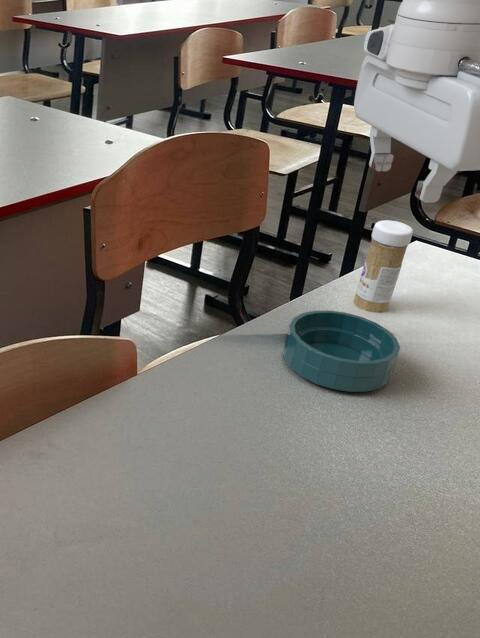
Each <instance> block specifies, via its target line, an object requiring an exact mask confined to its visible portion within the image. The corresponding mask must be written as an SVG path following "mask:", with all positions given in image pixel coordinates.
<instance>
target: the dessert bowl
mask: <svg viewBox="0 0 480 638" xmlns="http://www.w3.org/2000/svg"><path fill="white" fill-rule="evenodd" d="M288 325H289V326H288V330H287V334H286V338H285V342H284V346H283V349H282V353H283V359H284V361H285V362H286V364H287V365H288V367H289V368H290V369H291V370H293V371H294V372H295V373H296V374H298V375H299V376H300V377H302V378H303V379H306V380H307V381H309V382H311V383H313V384H315V385H318V386H321V387H323V388H326V389H331V390H334V391H340V392H347V393H348V392H349V393H350V392H351V393H353V392H354V393H355V392H356V393H357V392H358V393H361V392H362V393H363V392H370V391H374V390H379V389H381V388H383V387H384V386H386V385H387V384H388V383H389V382H390V379H391V376H392V375H393V370H394V368H395V364H396V361H397V359H398V356H399V353H400V350H401V345H400V343H399V341H398V339H397V337H396V336H395V335H394V334H393V333H392V332H391V331H390V330H388V329H387V328H385V327H384V326H382V325H381V324H379V323H377V322H375V321H374V320H370V319H367V318H365V317H363V316H359V315H357V314H352V313H348V312H346V311H345V312H343V311H337V310H328V309H327V310H311V311H307V312H306V311H305V312H302V313H300V314H298V315H296V316H294V317H293V318H292V320H291V322H290V323H289V324H288Z"/></svg>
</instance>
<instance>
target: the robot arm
mask: <svg viewBox="0 0 480 638" xmlns="http://www.w3.org/2000/svg"><path fill="white" fill-rule="evenodd" d="M363 51H364V53H366V54H367V55H366V56H365V57H364V59H363V61H362V63H361V65H360V66H361V67H360V70H359V74H358V79H357V84H356V89H355V94H354V100H353V109H354V114H355V117H356V118H357V119H359V120H360V121H363V122H365V123H366V124H368V125H370V126H371V127H370V131H369V142H370V151H371V153H370V159H369V162H368V165H369V167H370V168H371V169H373V170H374V171H376V172H389V170H391V168H392V163H393V161H394V157H395V155H393V154H391V152H392V151H391V150H392V149H391V148H392V147H391V146H392V139H394V140H397V141H399V142H400V143H401V144H404V145H405V146H407V147H408V148H411V150H414V151H416V152H417V153H419V154H421V155H423V156H424V157H426V158H428V159H430V160H429V164H428V169H429V170H431V171H430V173H429V174H427V176H426V178H425V180H418V182H417V185H416V190H415V192H414V196H415V197H416V198H417V199H418V200H420V201H422V202H423V203H425V204H426V203H427V204H428V203H429V204H430V203H436V202H438V201H439V200H440V198H441V195H442V192H443V189H444V187H445V186H446V184H448V183H449V181H450V180H451V179H452V178H453V177H454V176H455V175H456V174H457V173H458V172H464V171H465V172H466V171H467V172H468V171H480V0H402V1H401V2H400V5H399V7H398V10H397V13H396V17H395V21H394V23H392V24H388V25H386V26H383V27H380V28H376V29H372V30H369V31H367V33H366V35H365V39H364V42H363Z"/></svg>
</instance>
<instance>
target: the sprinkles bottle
mask: <svg viewBox="0 0 480 638" xmlns="http://www.w3.org/2000/svg"><path fill="white" fill-rule="evenodd" d="M413 233H414V230H413V228H412V227H411V225H408V224H406V223H404V222H401V221H396V220H390V219H389V220H388V219H387V220H386V219H384V220H378V221H377V222H375V224H374V226H373V229H372V232H371V241H370V244H369V245H370V246H369V249H368V253H367V256H366V259H365V261H364V265H363V267H362V271H361V273H360V277H359V280H358V285H357V287H356V291H355V295H354V299H353V304H354V306H356V307H357V308H358V309H361V310H362V311H365V312H369V313H376V314H377V313H378V314H379V313H383V312H386V311H387V310H388V308H389V304H390V301H391V300H392V297H393V294H394V291H395V288H396V285H397V282H398V279H399V276H400V272H401V269H402V265H403V261H404V258H405V255H406V252H407V248H408V246H409V245H410V243H411V240H412V237H413Z"/></svg>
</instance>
